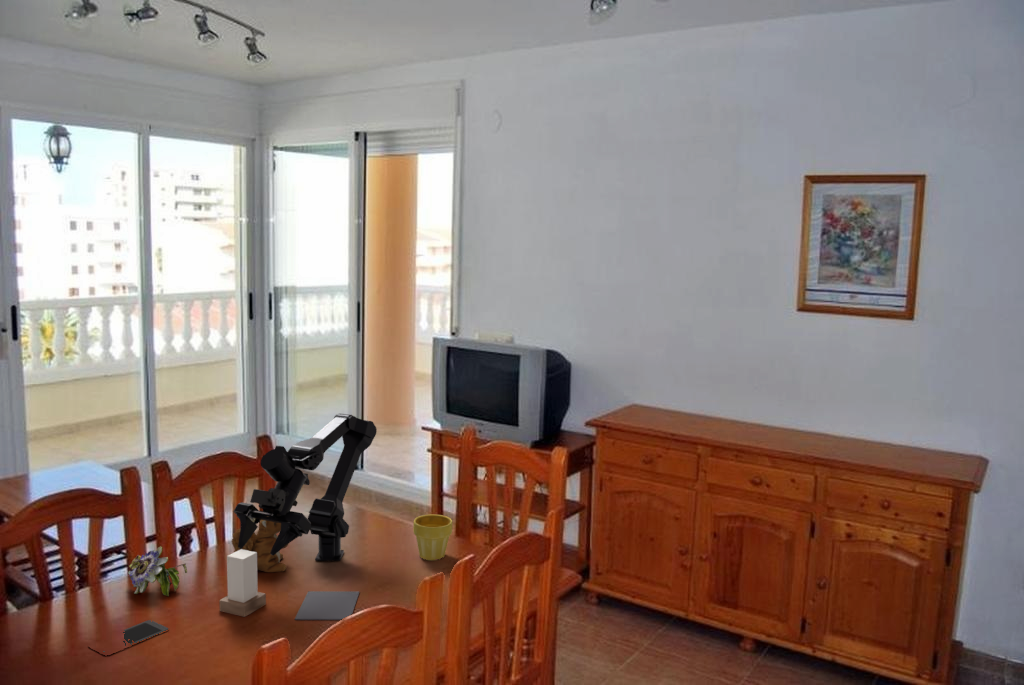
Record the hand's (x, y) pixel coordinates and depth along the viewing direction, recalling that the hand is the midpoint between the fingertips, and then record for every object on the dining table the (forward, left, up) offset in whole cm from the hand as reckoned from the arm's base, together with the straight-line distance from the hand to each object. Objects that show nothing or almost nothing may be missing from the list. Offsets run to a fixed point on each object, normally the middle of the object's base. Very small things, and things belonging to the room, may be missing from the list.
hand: (255, 551), depth 181 cm
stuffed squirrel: (-20, -4, -12) cm, 24 cm away
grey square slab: (+4, -2, -12) cm, 12 cm away
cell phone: (+18, -21, -12) cm, 30 cm away
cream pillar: (+4, -2, -9) cm, 10 cm away
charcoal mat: (+3, +17, -12) cm, 21 cm away
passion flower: (-6, -25, -12) cm, 28 cm away
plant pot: (-27, +39, -12) cm, 49 cm away
